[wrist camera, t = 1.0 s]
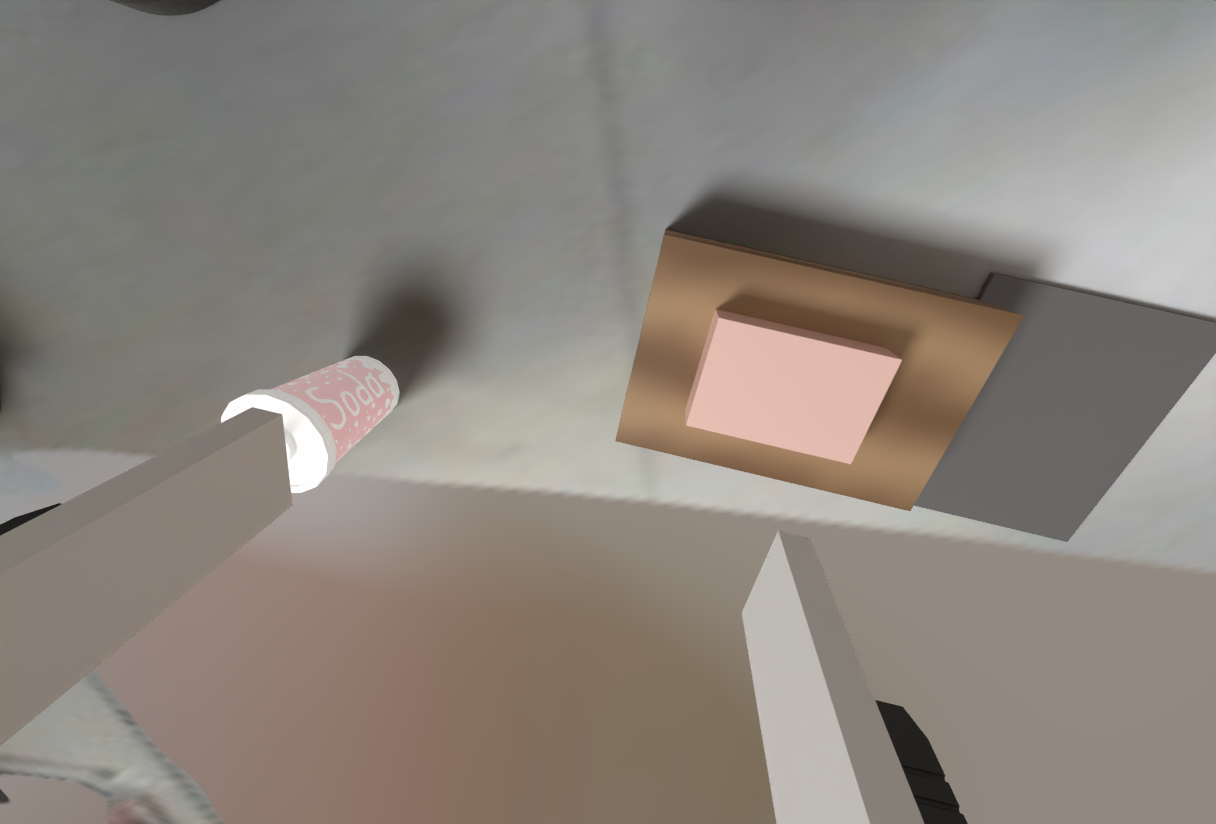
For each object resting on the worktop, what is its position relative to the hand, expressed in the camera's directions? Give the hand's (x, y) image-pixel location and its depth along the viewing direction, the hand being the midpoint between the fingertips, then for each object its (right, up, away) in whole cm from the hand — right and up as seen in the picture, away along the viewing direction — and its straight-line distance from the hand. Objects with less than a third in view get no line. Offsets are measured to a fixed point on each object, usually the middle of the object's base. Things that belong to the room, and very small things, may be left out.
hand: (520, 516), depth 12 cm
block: (+12, +4, +15) cm, 19 cm away
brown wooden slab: (+13, +6, +18) cm, 23 cm away
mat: (+28, +2, +18) cm, 33 cm away
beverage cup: (-15, +4, +23) cm, 27 cm away
